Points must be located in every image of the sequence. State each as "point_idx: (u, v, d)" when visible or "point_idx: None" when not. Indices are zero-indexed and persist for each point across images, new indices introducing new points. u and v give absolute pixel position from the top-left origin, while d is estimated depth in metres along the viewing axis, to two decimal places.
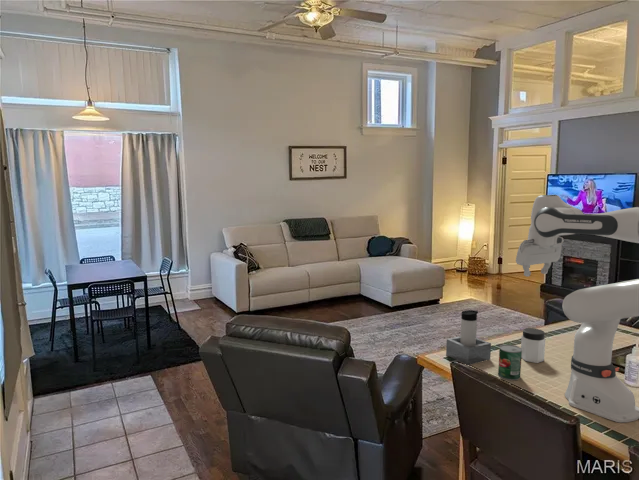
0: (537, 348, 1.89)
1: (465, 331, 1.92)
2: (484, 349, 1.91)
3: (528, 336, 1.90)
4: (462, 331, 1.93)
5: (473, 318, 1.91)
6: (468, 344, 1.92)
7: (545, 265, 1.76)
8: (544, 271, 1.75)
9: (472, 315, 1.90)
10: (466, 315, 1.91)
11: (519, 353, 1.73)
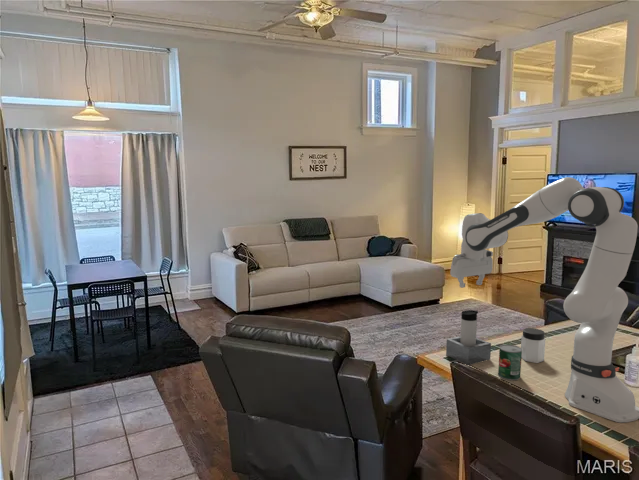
0: (537, 348, 1.89)
1: (465, 331, 1.92)
2: (484, 349, 1.91)
3: (528, 336, 1.90)
4: (462, 331, 1.93)
5: (473, 318, 1.91)
6: (468, 344, 1.92)
7: (480, 277, 1.94)
8: (479, 282, 1.93)
9: (472, 315, 1.90)
10: (466, 315, 1.91)
11: (519, 353, 1.73)
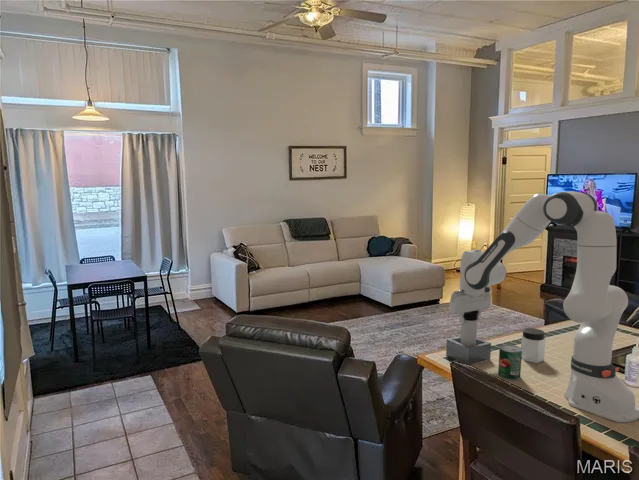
0: (537, 348, 1.89)
1: (465, 331, 1.92)
2: (484, 349, 1.91)
3: (528, 336, 1.90)
4: (462, 331, 1.93)
5: (473, 318, 1.91)
6: (468, 344, 1.92)
7: None
8: None
9: (472, 315, 1.91)
10: (466, 315, 1.91)
11: (519, 353, 1.73)
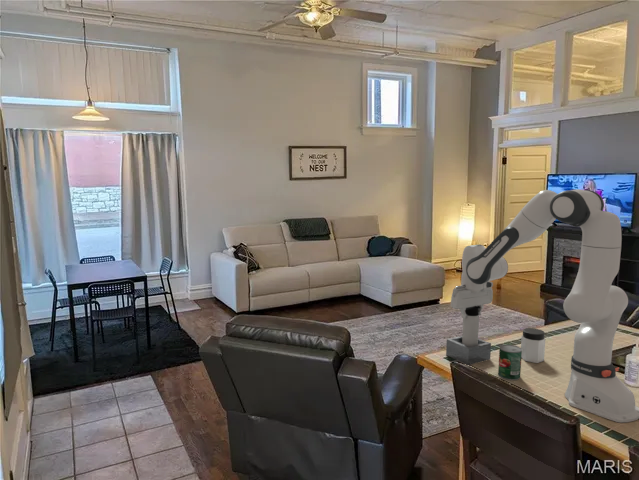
0: (537, 348, 1.89)
1: (467, 327, 1.91)
2: (484, 349, 1.91)
3: (528, 336, 1.90)
4: (464, 326, 1.92)
5: (475, 313, 1.90)
6: (470, 339, 1.91)
7: None
8: None
9: (474, 310, 1.89)
10: (468, 310, 1.90)
11: (519, 353, 1.73)
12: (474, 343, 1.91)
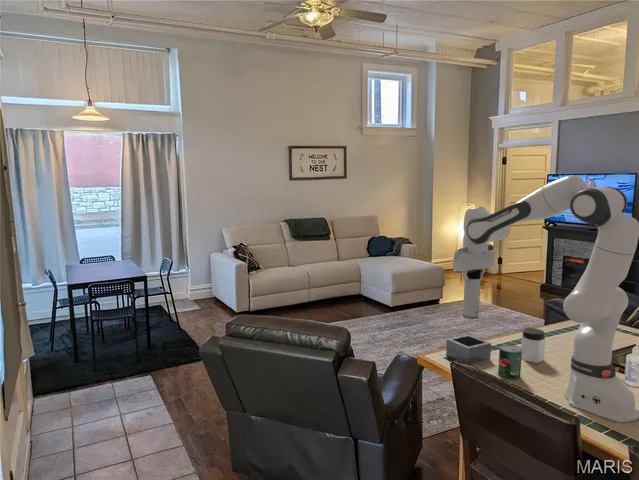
0: (537, 348, 1.89)
1: (468, 290, 1.90)
2: (484, 349, 1.91)
3: (528, 336, 1.90)
4: (465, 290, 1.92)
5: (477, 276, 1.89)
6: (472, 303, 1.90)
7: None
8: None
9: (476, 273, 1.89)
10: (470, 273, 1.89)
11: (519, 353, 1.73)
12: (475, 306, 1.91)
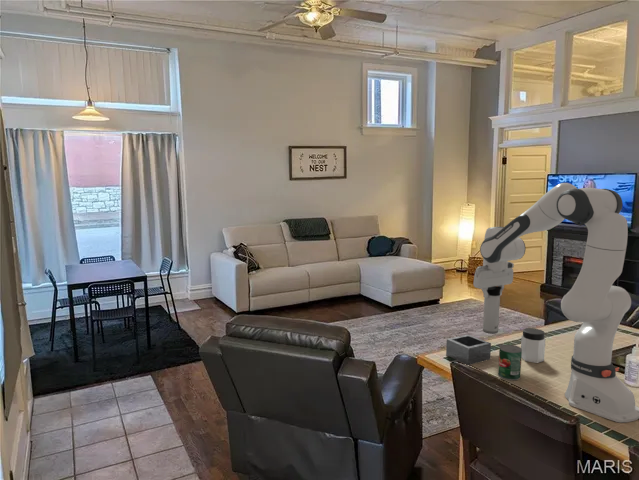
0: (537, 348, 1.89)
1: (488, 306, 1.98)
2: (484, 349, 1.91)
3: (528, 336, 1.90)
4: (485, 306, 2.00)
5: (497, 293, 1.97)
6: (491, 318, 1.98)
7: None
8: None
9: (496, 290, 1.97)
10: (490, 290, 1.97)
11: (519, 353, 1.73)
12: (495, 322, 1.99)
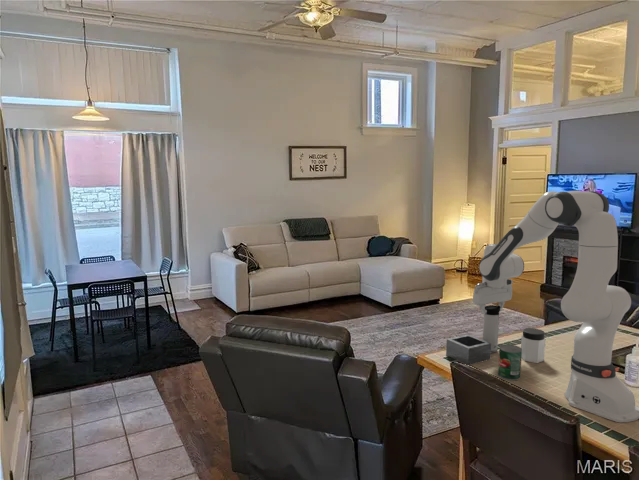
0: (537, 348, 1.89)
1: (487, 326, 2.00)
2: (484, 349, 1.91)
3: (528, 336, 1.90)
4: (485, 325, 2.01)
5: (496, 313, 1.98)
6: (491, 338, 2.00)
7: (500, 304, 2.03)
8: (499, 309, 2.02)
9: (495, 310, 1.98)
10: (489, 310, 1.99)
11: (519, 353, 1.73)
12: (494, 341, 2.00)
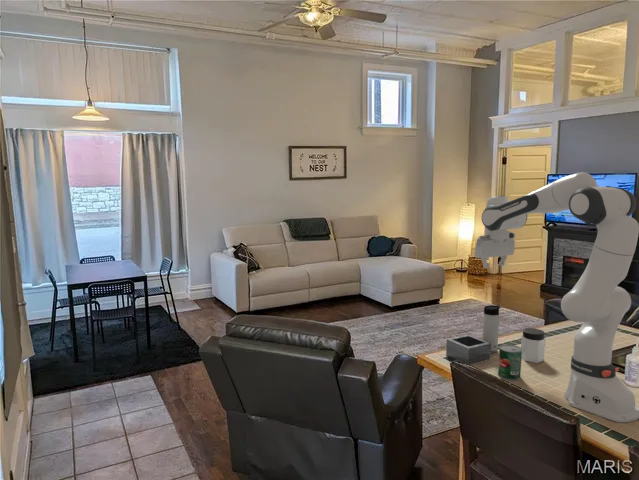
0: (537, 348, 1.89)
1: (487, 326, 2.00)
2: (484, 349, 1.91)
3: (528, 336, 1.90)
4: (485, 325, 2.01)
5: (496, 313, 1.98)
6: (491, 338, 2.00)
7: (502, 258, 2.01)
8: (501, 263, 2.00)
9: (495, 310, 1.98)
10: (489, 310, 1.99)
11: (519, 353, 1.73)
12: (494, 341, 2.00)
